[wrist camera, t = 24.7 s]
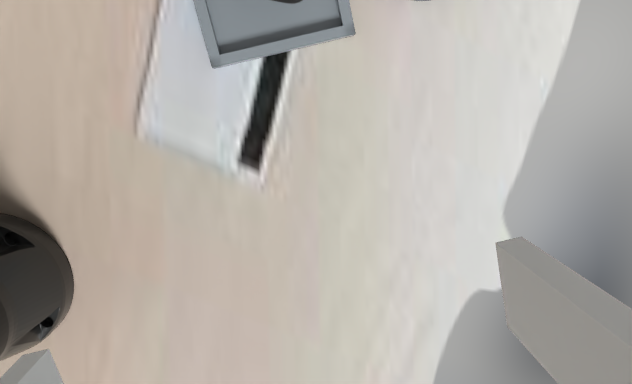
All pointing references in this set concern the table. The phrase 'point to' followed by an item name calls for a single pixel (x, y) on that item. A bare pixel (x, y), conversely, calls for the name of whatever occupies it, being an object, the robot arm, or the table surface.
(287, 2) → the electronic device
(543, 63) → the table surface
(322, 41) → the tray
